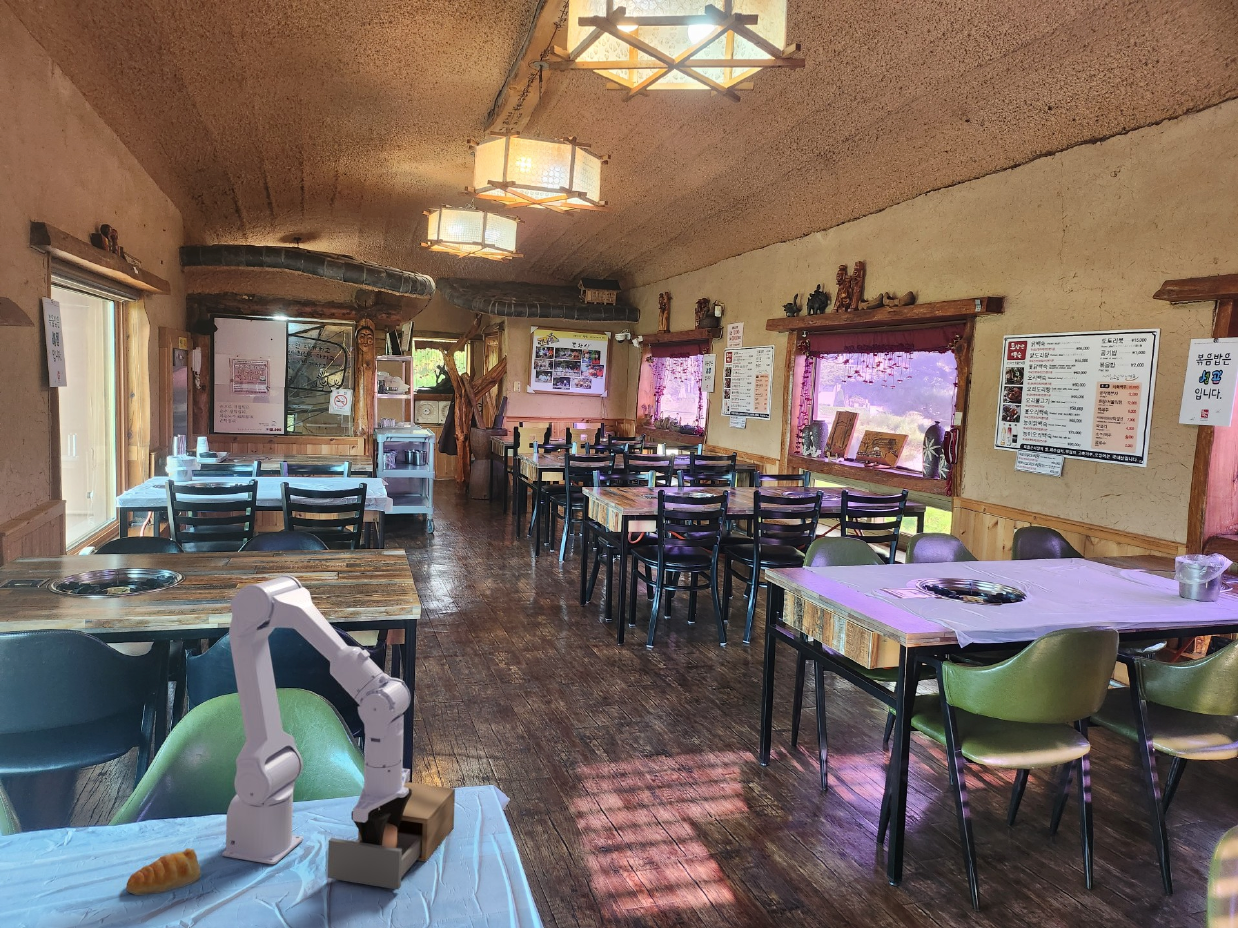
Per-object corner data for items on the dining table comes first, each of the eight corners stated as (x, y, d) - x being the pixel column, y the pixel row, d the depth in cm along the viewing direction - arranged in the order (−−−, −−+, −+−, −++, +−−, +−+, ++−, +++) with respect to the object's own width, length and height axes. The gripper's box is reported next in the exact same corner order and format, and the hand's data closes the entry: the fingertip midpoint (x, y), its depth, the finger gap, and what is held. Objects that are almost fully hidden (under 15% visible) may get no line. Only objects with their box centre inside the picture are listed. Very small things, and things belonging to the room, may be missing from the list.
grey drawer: (398, 889, 117) (399, 851, 117) (327, 877, 120) (328, 840, 119) (428, 852, 128) (430, 817, 128) (363, 842, 130) (364, 807, 130)
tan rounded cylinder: (357, 861, 122) (357, 836, 122) (376, 844, 127) (376, 820, 127) (384, 867, 121) (384, 842, 120) (403, 850, 125) (403, 826, 125)
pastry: (132, 905, 112) (133, 879, 112) (121, 885, 117) (121, 860, 117) (204, 881, 119) (204, 856, 119) (190, 862, 124) (190, 839, 124)
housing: (426, 861, 126) (427, 818, 126) (357, 850, 129) (359, 808, 128) (453, 827, 137) (454, 788, 137) (390, 818, 140) (391, 779, 139)
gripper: (384, 783, 115) (382, 873, 116) (427, 745, 129) (425, 825, 130) (340, 777, 116) (338, 866, 117) (388, 740, 131) (386, 820, 131)
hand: (381, 845), depth 124 cm, fingers closed on tan rounded cylinder, 5 cm apart
